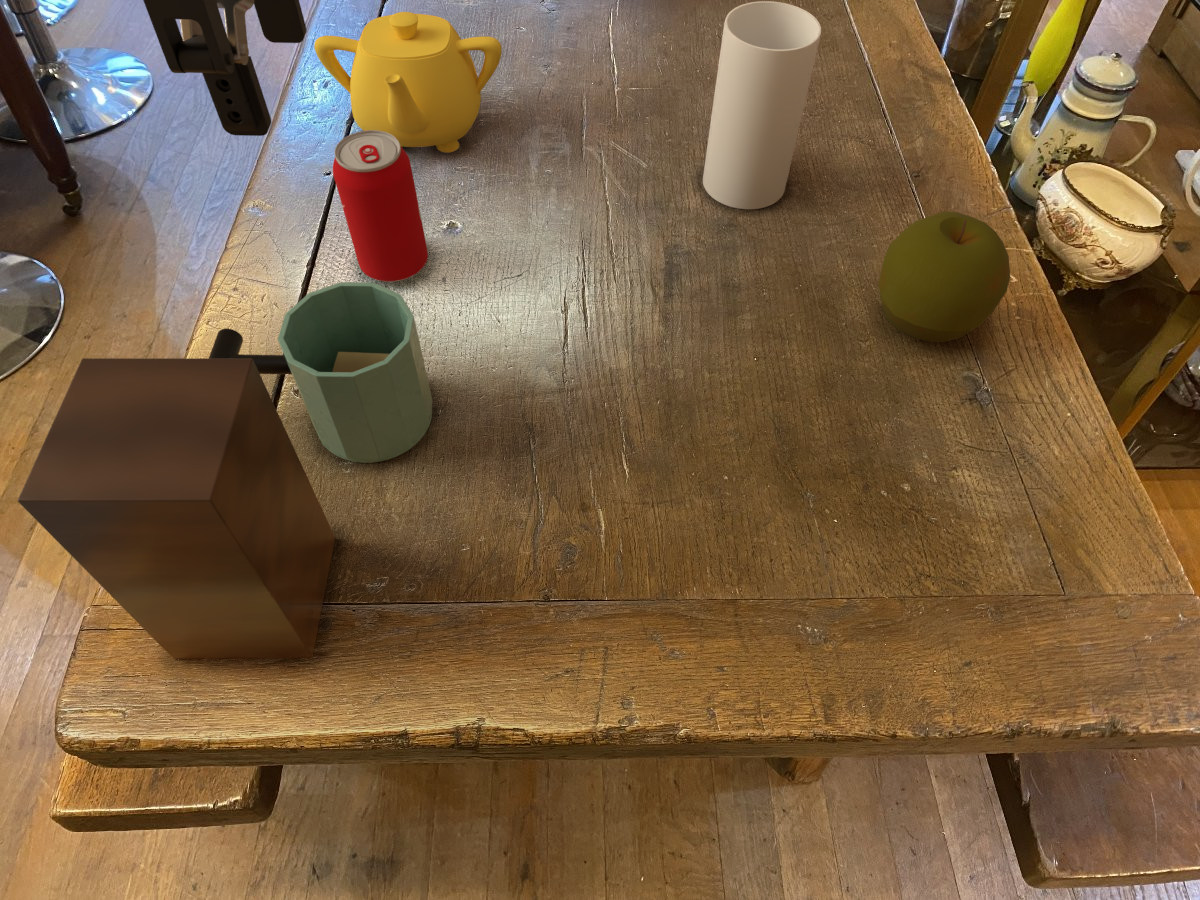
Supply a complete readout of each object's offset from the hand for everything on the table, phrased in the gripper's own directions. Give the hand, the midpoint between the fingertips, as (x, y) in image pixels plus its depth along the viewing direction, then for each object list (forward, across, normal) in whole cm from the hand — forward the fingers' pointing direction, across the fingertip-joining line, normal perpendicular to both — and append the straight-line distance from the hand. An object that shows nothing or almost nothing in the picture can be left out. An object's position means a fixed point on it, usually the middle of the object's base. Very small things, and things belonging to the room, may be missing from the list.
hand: (269, 83), depth 45 cm
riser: (+28, +16, -6) cm, 33 cm away
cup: (+28, -30, +32) cm, 52 cm away
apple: (+28, -11, +46) cm, 55 cm away
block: (+28, 0, 0) cm, 28 cm away
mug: (+28, 0, -3) cm, 28 cm away
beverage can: (+28, -18, -1) cm, 33 cm away
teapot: (+28, -36, -1) cm, 46 cm away
